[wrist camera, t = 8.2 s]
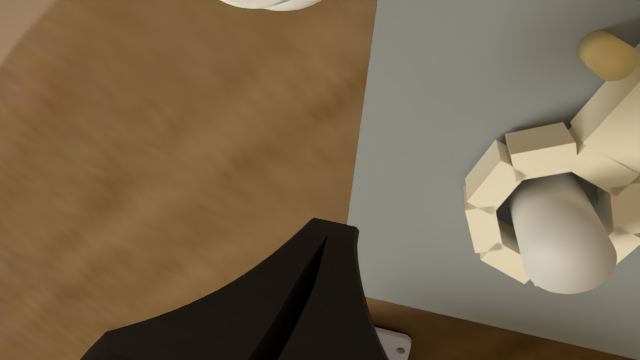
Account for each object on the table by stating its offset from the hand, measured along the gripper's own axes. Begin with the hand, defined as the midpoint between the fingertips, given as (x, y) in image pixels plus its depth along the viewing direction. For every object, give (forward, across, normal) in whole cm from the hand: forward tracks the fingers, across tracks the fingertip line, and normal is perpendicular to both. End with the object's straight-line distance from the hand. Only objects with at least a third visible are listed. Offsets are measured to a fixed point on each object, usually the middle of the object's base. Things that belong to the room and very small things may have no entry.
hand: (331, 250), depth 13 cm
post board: (+9, -8, +1) cm, 12 cm away
